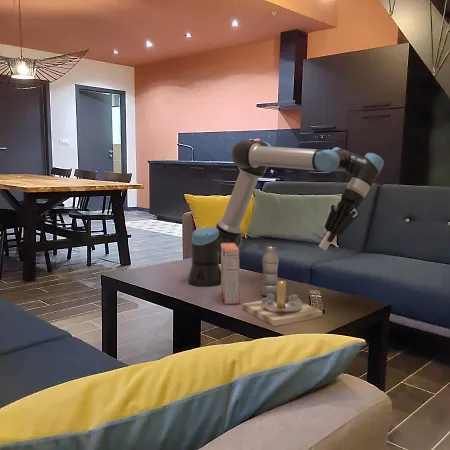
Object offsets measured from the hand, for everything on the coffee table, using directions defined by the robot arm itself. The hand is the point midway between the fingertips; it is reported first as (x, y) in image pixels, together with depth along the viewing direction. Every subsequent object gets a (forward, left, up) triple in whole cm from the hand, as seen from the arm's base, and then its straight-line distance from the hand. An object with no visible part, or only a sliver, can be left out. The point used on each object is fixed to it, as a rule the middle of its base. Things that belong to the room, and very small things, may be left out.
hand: (322, 248), depth 170 cm
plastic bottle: (-20, -9, -22) cm, 31 cm away
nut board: (-1, -17, -22) cm, 27 cm away
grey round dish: (0, -17, -19) cm, 26 cm away
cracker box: (-24, -25, -22) cm, 41 cm away
